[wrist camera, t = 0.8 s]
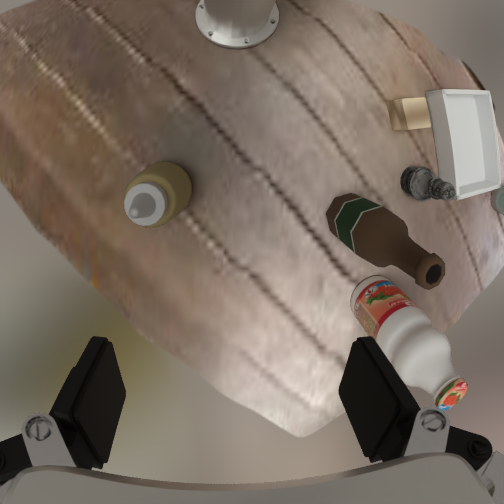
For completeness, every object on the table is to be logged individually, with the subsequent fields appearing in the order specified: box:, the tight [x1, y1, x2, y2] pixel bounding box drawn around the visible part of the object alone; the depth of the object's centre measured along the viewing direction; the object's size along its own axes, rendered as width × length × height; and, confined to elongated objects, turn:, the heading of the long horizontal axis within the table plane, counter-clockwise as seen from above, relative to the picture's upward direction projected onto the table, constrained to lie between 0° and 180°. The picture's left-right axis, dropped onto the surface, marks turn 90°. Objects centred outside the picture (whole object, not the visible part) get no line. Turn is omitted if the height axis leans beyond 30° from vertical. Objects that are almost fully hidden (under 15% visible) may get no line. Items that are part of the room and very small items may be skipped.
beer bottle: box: [326, 193, 445, 290], centre depth 36 cm, size 8×8×24 cm
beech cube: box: [386, 97, 431, 130], centre depth 40 cm, size 5×5×5 cm
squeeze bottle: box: [124, 162, 192, 227], centre depth 35 cm, size 8×8×18 cm
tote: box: [425, 89, 501, 200], centre depth 42 cm, size 20×15×5 cm
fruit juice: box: [351, 276, 468, 410], centre depth 40 cm, size 9×9×28 cm
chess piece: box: [401, 167, 456, 202], centre depth 41 cm, size 6×6×12 cm
